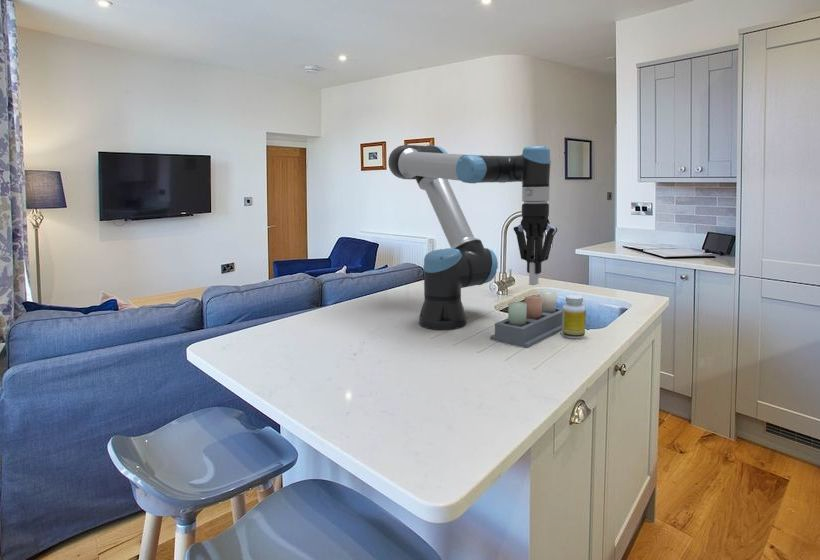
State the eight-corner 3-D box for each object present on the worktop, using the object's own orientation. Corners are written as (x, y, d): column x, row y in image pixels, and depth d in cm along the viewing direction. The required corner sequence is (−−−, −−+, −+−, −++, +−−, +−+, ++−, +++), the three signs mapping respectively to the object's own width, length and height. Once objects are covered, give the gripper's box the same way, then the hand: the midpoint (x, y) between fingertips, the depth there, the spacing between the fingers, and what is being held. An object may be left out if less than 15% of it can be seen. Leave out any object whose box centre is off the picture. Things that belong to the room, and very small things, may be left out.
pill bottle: (586, 339, 142) (588, 299, 140) (562, 338, 143) (563, 299, 141) (583, 333, 148) (584, 294, 146) (560, 332, 149) (561, 294, 147)
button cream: (536, 312, 155) (536, 293, 154) (543, 308, 159) (544, 290, 158) (551, 314, 152) (551, 295, 151) (558, 311, 155) (559, 292, 154)
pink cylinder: (521, 318, 149) (521, 298, 147) (529, 314, 152) (530, 295, 151) (536, 320, 145) (537, 300, 144) (544, 317, 149) (545, 297, 148)
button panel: (490, 339, 144) (490, 322, 143) (536, 319, 163) (536, 304, 162) (527, 347, 136) (528, 330, 135) (571, 325, 155) (572, 310, 154)
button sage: (504, 324, 142) (505, 304, 141) (514, 321, 146) (514, 300, 145) (520, 327, 139) (520, 306, 138) (529, 324, 142) (530, 303, 141)
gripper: (508, 203, 144) (507, 283, 148) (550, 203, 135) (547, 289, 139) (522, 202, 149) (520, 280, 153) (563, 202, 140) (560, 284, 145)
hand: (533, 284), depth 146 cm, fingers closed
